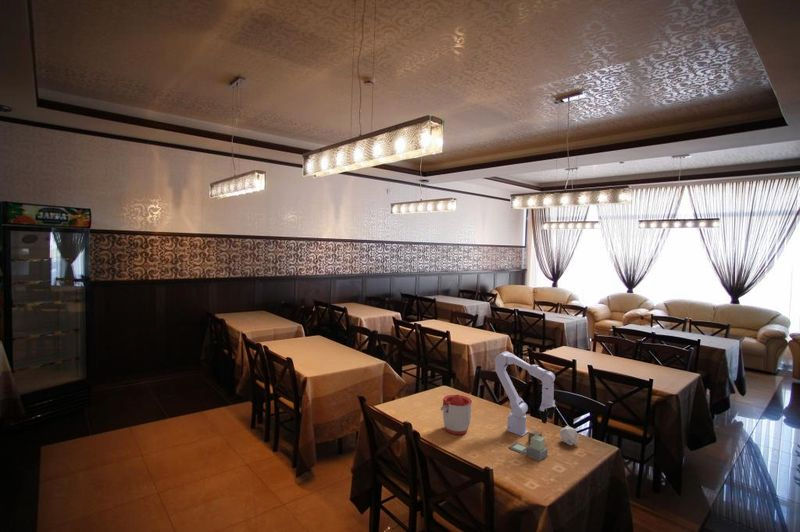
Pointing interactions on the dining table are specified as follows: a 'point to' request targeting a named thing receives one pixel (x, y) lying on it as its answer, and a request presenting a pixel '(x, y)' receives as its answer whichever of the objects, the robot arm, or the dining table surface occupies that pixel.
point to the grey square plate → (518, 448)
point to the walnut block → (532, 433)
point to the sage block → (537, 443)
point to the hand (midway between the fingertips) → (547, 420)
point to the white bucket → (456, 413)
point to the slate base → (537, 453)
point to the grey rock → (569, 435)
